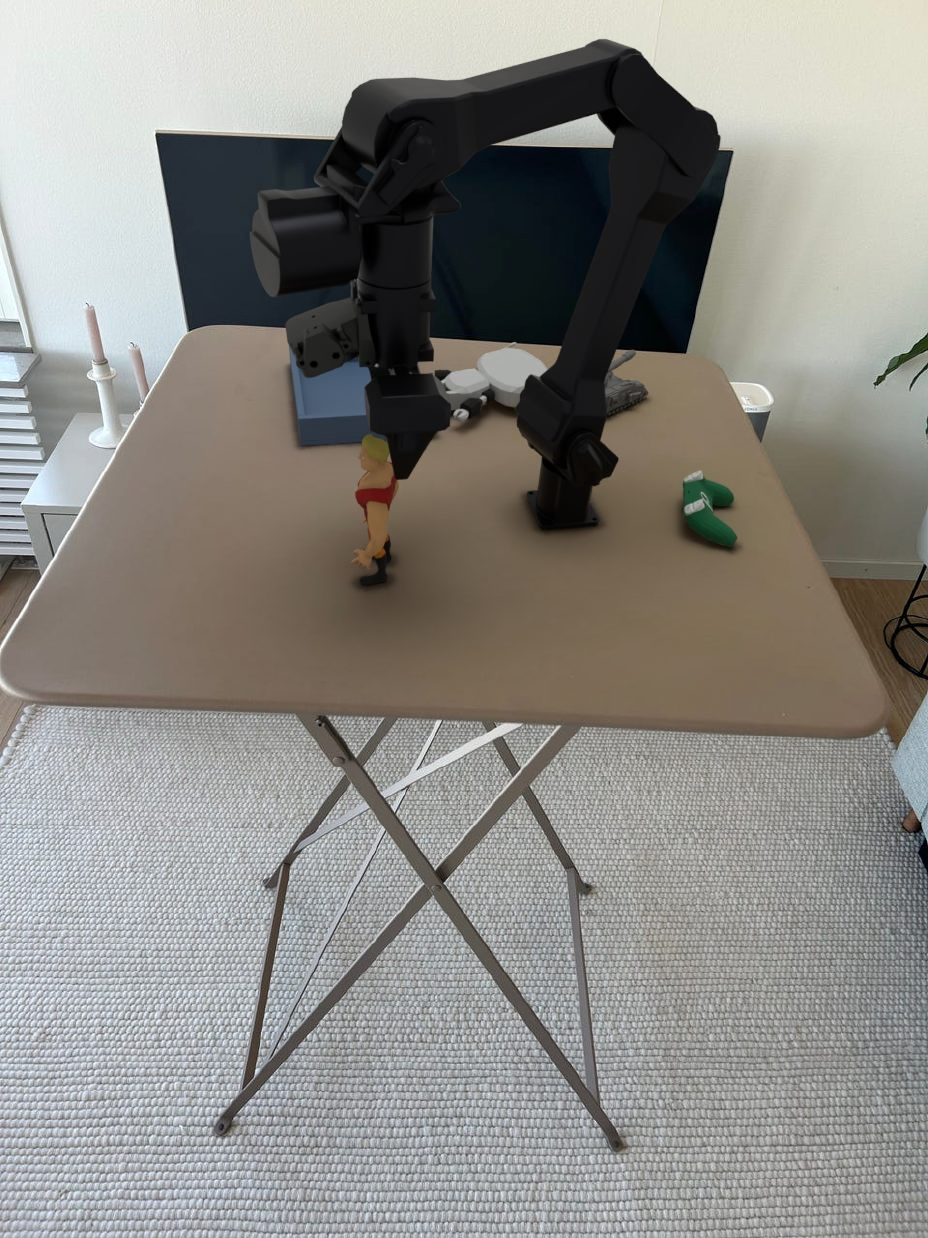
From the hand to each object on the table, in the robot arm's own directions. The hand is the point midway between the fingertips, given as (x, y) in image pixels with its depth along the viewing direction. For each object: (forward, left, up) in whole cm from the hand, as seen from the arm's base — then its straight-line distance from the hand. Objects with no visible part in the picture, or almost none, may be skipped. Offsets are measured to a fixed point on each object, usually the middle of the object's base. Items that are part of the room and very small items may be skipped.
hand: (393, 449), depth 78 cm
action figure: (-1, +2, -13) cm, 14 cm away
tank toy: (+29, -31, -13) cm, 44 cm away
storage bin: (+33, 0, -13) cm, 35 cm away
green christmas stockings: (+3, -34, -13) cm, 37 cm away
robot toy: (+30, -17, -13) cm, 37 cm away
